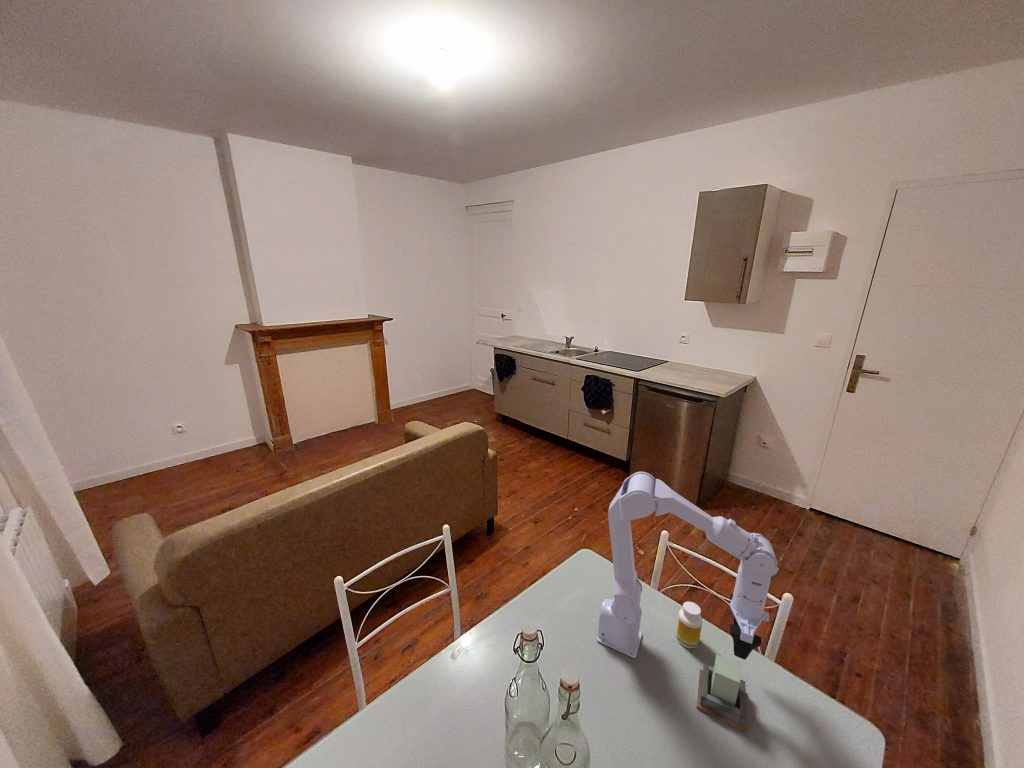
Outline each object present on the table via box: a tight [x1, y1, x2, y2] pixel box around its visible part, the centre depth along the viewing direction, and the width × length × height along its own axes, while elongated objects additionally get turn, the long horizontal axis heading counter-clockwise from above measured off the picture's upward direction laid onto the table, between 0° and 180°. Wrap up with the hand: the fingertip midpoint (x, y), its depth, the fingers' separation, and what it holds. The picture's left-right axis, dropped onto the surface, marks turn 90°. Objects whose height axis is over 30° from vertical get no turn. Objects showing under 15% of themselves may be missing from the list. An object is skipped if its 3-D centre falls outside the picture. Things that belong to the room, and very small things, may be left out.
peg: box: [710, 654, 741, 707], centre depth 81 cm, size 4×4×8 cm
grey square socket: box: [696, 663, 748, 733], centre depth 82 cm, size 9×9×3 cm
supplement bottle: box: [675, 601, 703, 649], centre depth 95 cm, size 5×5×10 cm
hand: (739, 642), depth 84 cm, fingers open, 7 cm apart
